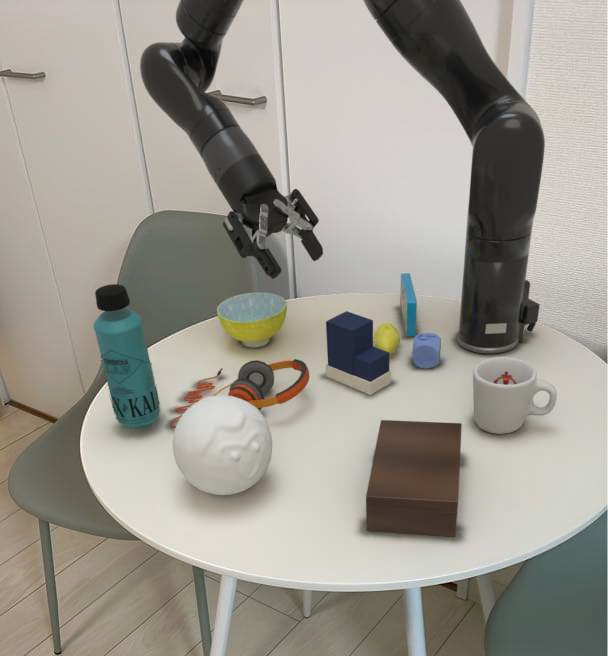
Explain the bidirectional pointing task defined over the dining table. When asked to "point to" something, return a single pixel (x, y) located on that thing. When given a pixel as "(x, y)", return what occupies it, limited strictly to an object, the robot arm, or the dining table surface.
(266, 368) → the headphones
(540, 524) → the dining table surface
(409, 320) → the blue rectangular panel
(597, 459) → the dining table surface
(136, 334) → the beverage bottle
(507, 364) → the cup
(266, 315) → the bowl
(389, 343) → the lemon
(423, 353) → the decorative dice
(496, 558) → the dining table surface
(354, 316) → the navy blue block
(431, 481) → the brown platform
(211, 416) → the decorative ball
